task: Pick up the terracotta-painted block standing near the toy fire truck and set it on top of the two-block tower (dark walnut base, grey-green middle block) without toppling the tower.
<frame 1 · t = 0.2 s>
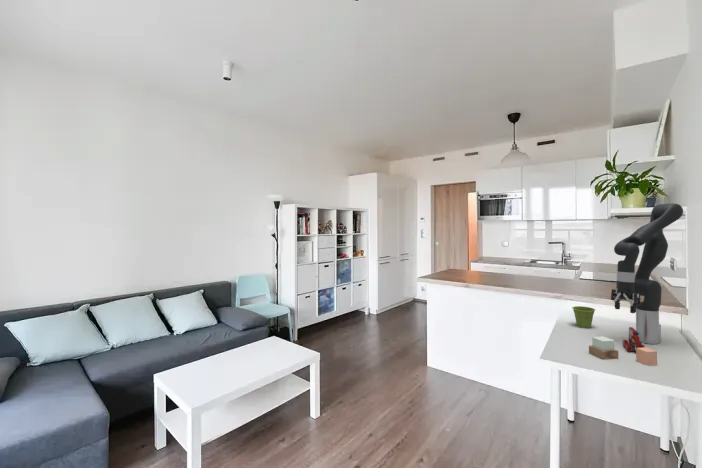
hand: (624, 311, 174), 17 cm above the table, tool pointing down, fingers open, 8 cm apart
greygreen middle: (603, 348, 159), point 4 cm above the table
plant pot: (583, 326, 204), on the table
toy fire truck: (633, 350, 165), on the table
terracotta block: (646, 362, 150), on the table
walnut base: (603, 356, 159), on the table
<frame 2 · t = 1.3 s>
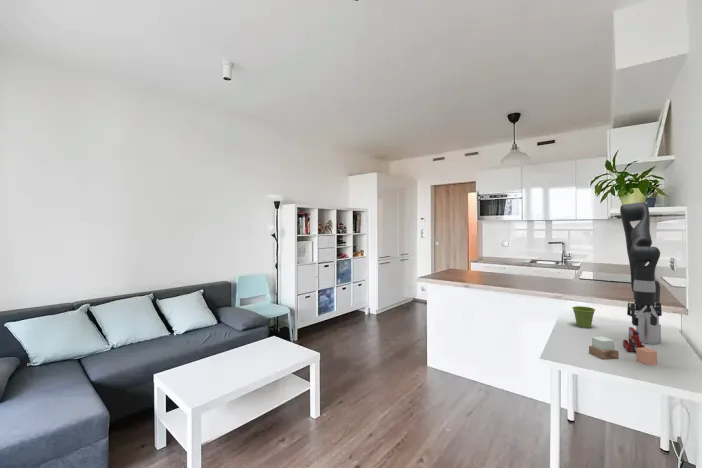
hand: (644, 325, 150), 17 cm above the table, tool pointing down, fingers open, 8 cm apart
greygreen middle: (602, 348, 159), point 4 cm above the table, touching walnut base
walnut base: (603, 356, 159), on the table, touching greygreen middle
everything else where it was.
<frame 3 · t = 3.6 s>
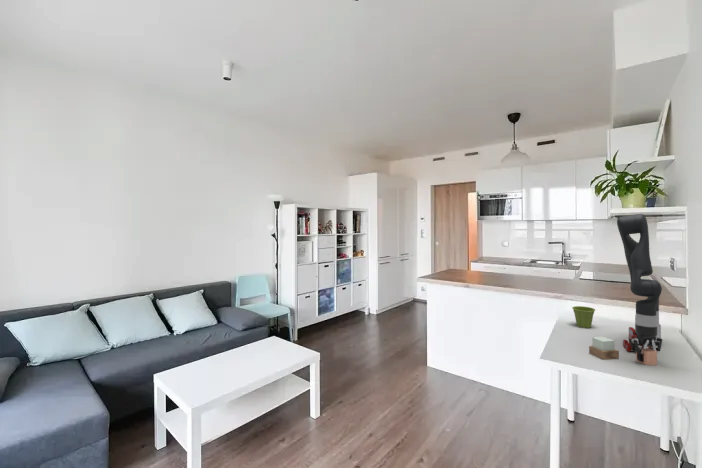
hand: (646, 360, 150), 1 cm above the table, tool pointing down, fingers closed on terracotta block, 5 cm apart
terracotta block: (646, 362, 150), on the table, touching gripper
everything else where it was.
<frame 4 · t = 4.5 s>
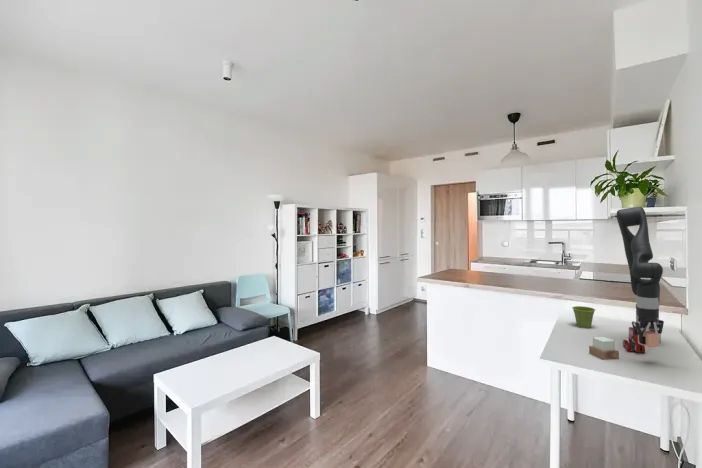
hand: (648, 343, 150), 9 cm above the table, tool pointing down, fingers closed on terracotta block, 5 cm apart
terracotta block: (648, 345, 150), point 8 cm above the table, touching gripper
everything else where it was.
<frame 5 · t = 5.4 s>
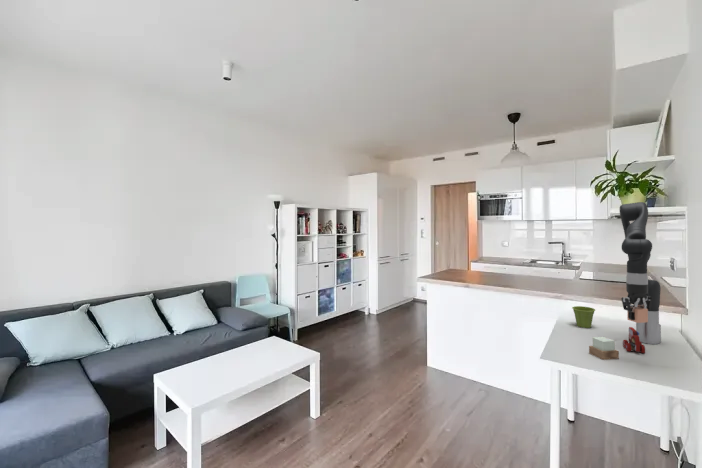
hand: (637, 319, 151), 19 cm above the table, tool pointing down, fingers closed on terracotta block, 5 cm apart
greygreen middle: (603, 348, 159), point 4 cm above the table
terracotta block: (637, 321, 151), point 19 cm above the table, touching gripper
walnut base: (603, 356, 159), on the table
everything else where it was.
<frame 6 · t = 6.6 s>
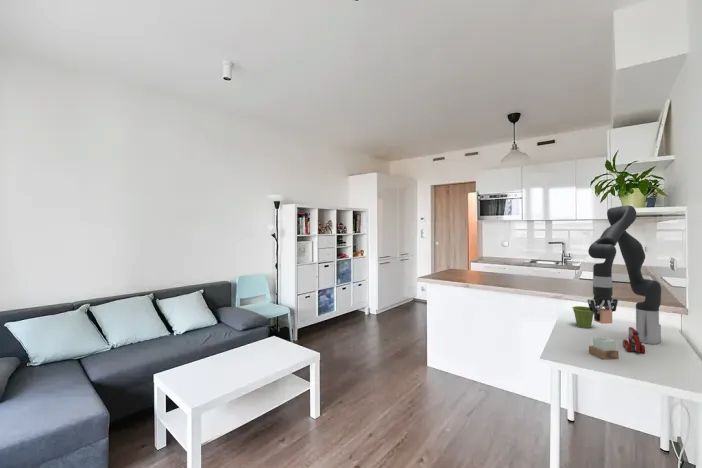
hand: (602, 320, 159), 17 cm above the table, tool pointing down, fingers closed on terracotta block, 5 cm apart
greygreen middle: (604, 348, 159), point 4 cm above the table, touching walnut base
terracotta block: (603, 322, 159), point 16 cm above the table, touching gripper
walnut base: (603, 356, 159), on the table, touching greygreen middle
everything else where it was.
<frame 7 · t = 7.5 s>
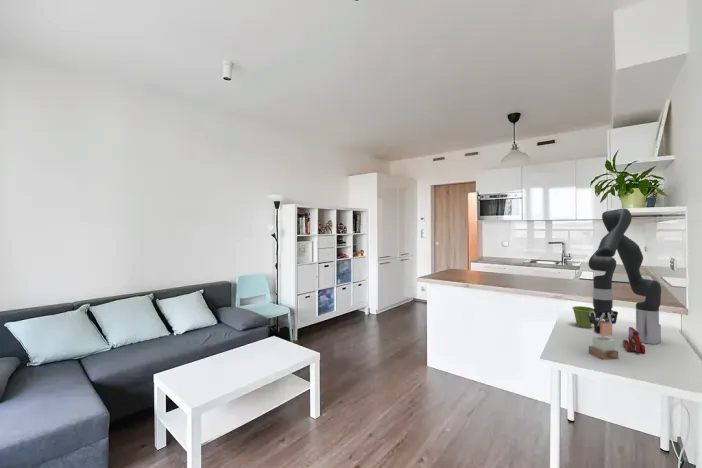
hand: (602, 332, 159), 11 cm above the table, tool pointing down, fingers closed on terracotta block, 5 cm apart
greygreen middle: (603, 348, 159), point 4 cm above the table
terracotta block: (603, 334, 159), point 10 cm above the table, touching gripper
walnut base: (603, 356, 159), on the table
everything else where it was.
when the fingers open (10 cm above the table, at t = 8.5 s): terracotta block drops 1 cm, resting on greygreen middle.
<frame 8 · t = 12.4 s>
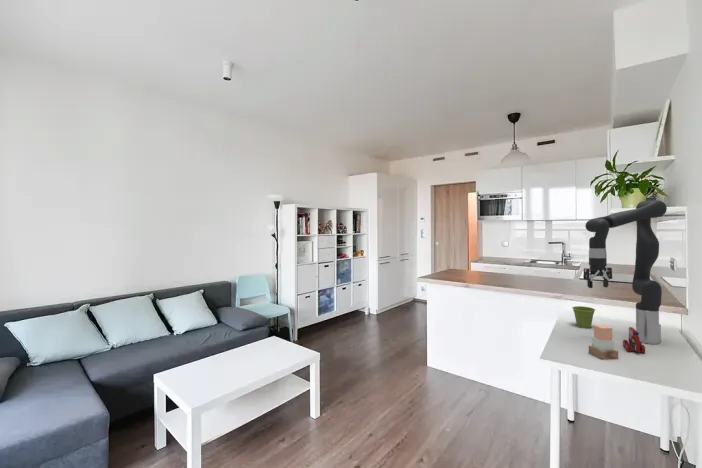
hand: (597, 287, 173), 30 cm above the table, tool pointing down, fingers open, 8 cm apart
greygreen middle: (602, 348, 159), point 4 cm above the table, touching terracotta block, walnut base
terracotta block: (603, 339, 159), point 8 cm above the table, touching greygreen middle
walnut base: (603, 356, 159), on the table, touching greygreen middle
everything else where it was.
at the end: terracotta block 0.1 cm off-centre on the walnut base, point 8.5 cm above the walnut base's base; terracotta block tilted 0°; greygreen middle tilted 0° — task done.
